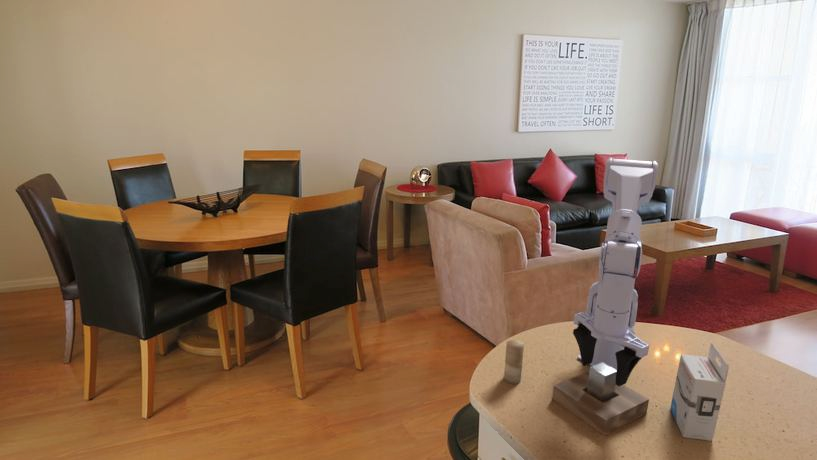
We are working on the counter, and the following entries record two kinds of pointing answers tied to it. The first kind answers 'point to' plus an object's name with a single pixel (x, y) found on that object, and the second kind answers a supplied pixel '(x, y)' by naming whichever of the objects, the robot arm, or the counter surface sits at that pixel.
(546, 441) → the counter surface
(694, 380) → the ink box
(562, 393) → the bore block
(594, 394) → the square bit
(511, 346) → the round dowel
